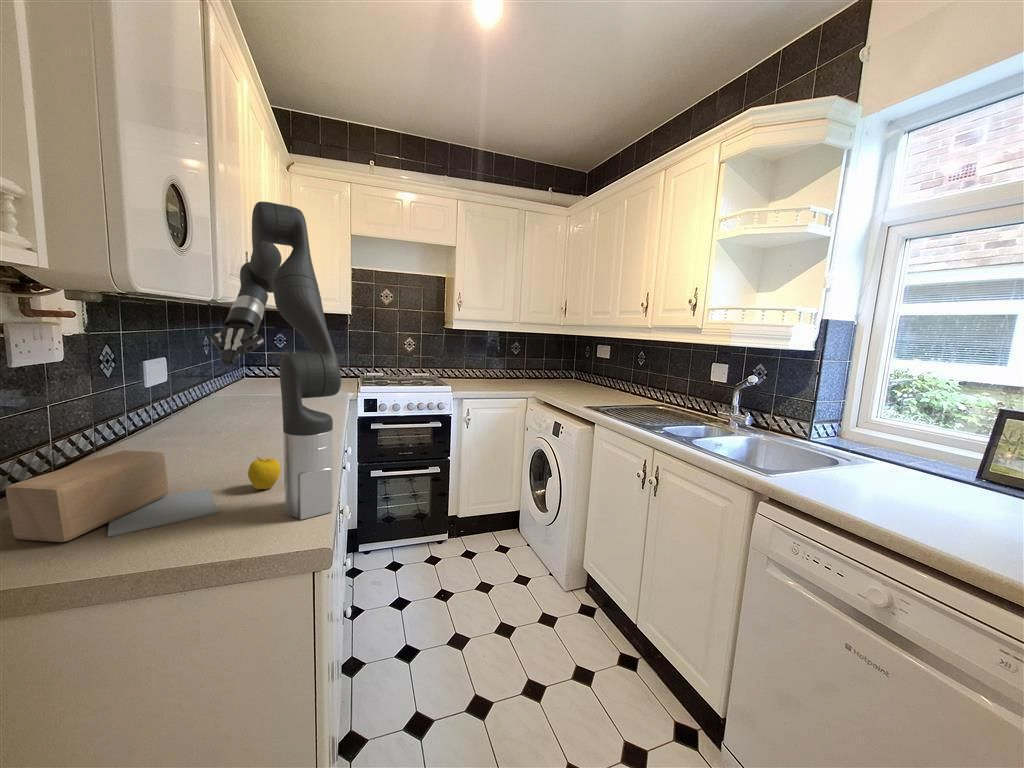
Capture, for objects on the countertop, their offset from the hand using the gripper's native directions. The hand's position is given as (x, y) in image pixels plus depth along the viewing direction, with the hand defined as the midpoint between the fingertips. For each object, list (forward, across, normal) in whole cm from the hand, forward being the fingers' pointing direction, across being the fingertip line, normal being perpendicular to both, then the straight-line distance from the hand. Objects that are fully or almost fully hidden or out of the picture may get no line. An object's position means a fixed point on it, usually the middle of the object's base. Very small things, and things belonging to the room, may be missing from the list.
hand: (227, 364), depth 102 cm
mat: (+36, -3, +4) cm, 36 cm away
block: (+26, -10, +5) cm, 29 cm away
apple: (+29, +12, +11) cm, 33 cm away
